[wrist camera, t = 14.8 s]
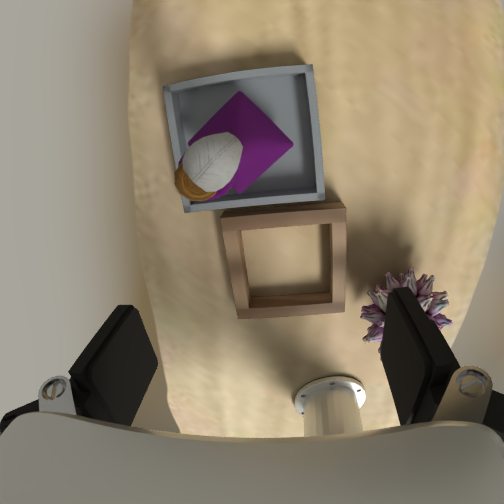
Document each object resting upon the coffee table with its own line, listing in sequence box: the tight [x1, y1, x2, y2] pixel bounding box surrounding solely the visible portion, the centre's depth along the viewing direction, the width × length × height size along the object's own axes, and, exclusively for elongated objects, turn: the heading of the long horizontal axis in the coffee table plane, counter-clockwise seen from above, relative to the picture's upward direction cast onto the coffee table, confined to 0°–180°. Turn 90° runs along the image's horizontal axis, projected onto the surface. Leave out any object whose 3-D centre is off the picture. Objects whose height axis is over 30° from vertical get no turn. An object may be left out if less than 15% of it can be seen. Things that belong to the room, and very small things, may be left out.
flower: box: [360, 267, 452, 360], centre depth 33 cm, size 12×12×12 cm
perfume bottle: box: [175, 91, 294, 201], centre depth 23 cm, size 8×8×18 cm
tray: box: [163, 64, 325, 213], centre depth 30 cm, size 14×15×3 cm
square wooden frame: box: [220, 202, 346, 319], centre depth 36 cm, size 14×14×2 cm
